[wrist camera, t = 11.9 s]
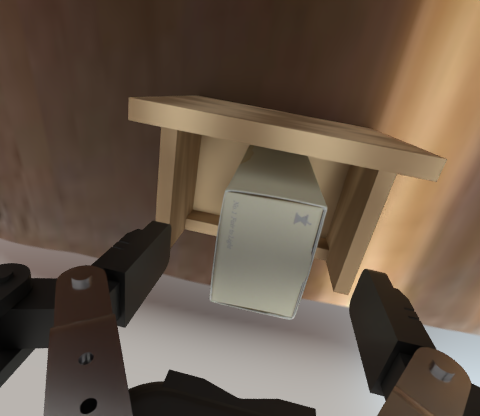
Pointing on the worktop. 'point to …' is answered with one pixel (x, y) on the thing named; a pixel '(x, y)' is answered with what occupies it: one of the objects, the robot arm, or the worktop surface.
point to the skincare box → (267, 233)
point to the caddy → (284, 139)
